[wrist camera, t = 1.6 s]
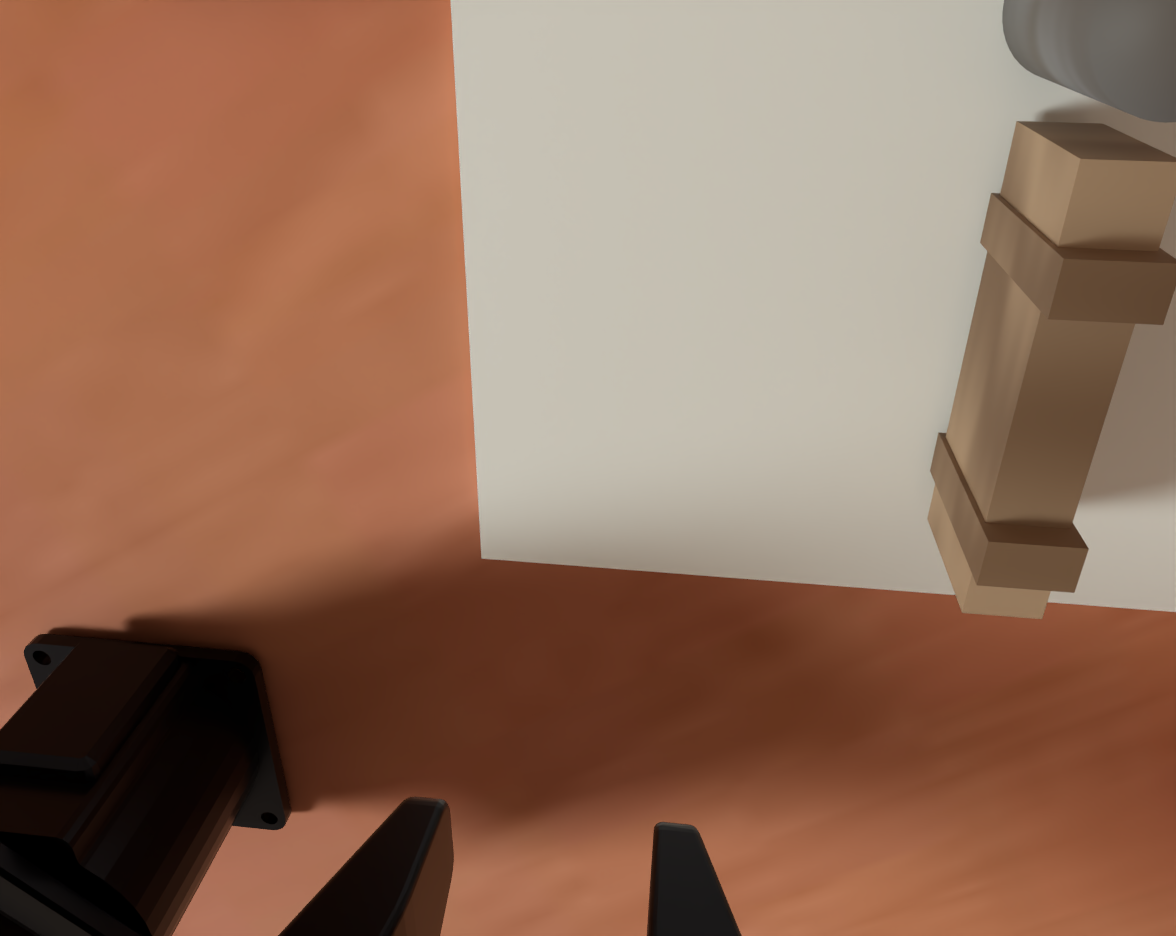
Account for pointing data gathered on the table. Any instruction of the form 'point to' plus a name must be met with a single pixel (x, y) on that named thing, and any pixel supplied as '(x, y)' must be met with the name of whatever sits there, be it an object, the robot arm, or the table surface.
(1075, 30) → the fence section
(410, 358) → the table surface
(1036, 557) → the fence hinged
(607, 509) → the card
